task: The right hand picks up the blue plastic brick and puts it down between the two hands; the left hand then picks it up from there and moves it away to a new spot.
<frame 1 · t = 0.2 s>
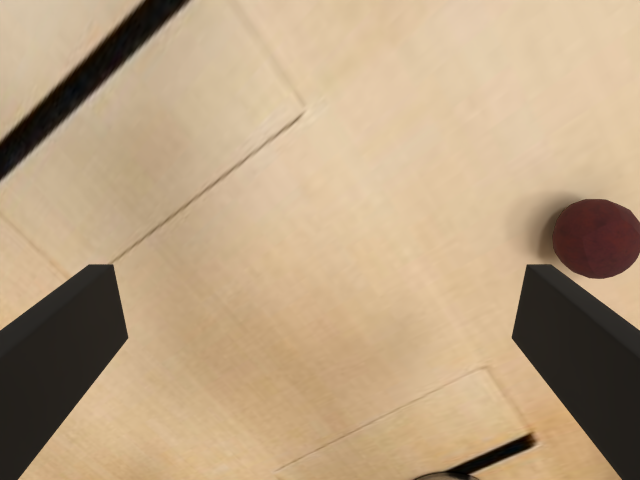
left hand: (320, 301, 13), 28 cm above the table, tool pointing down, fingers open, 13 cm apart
dark red ball: (572, 225, 41), on the table
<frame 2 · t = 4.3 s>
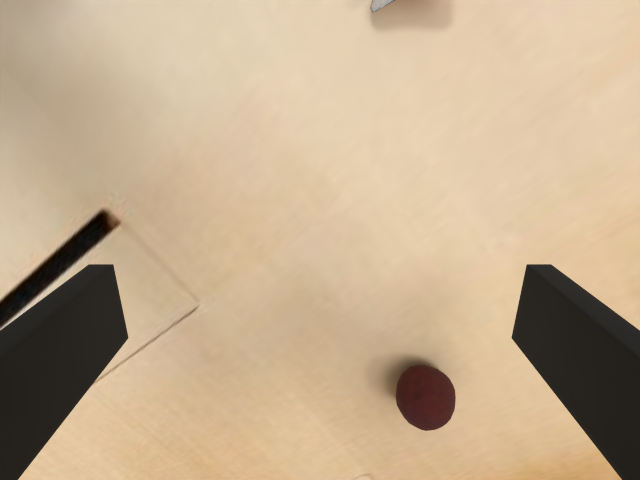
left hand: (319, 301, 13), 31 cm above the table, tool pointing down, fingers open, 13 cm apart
dark red ball: (418, 376, 52), on the table
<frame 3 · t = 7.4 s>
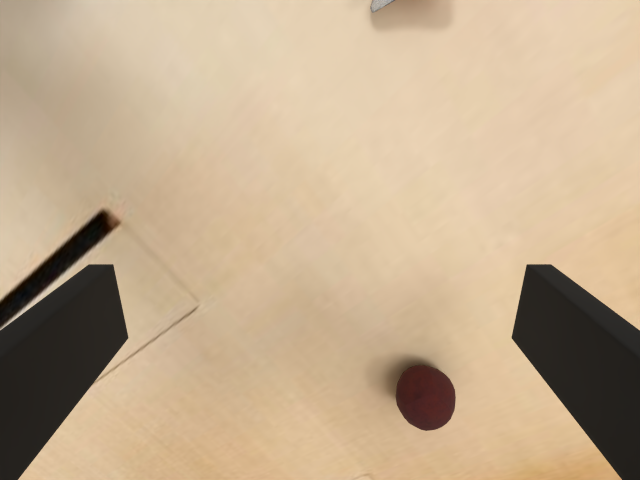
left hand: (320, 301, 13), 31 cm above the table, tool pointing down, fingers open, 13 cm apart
dark red ball: (418, 376, 52), on the table
when the right hand's fingers open (2 cm above the table, at t = 10.8 s): brick drops 1 cm, on the table.
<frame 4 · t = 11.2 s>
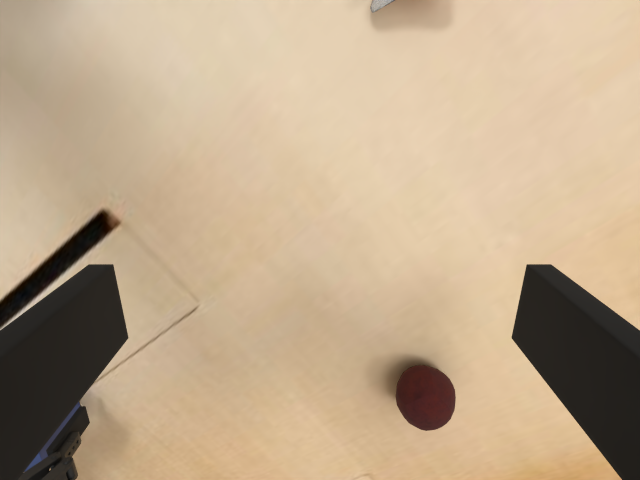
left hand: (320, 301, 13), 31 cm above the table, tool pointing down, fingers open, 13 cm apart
dark red ball: (418, 376, 52), on the table
brick: (58, 395, 54), on the table
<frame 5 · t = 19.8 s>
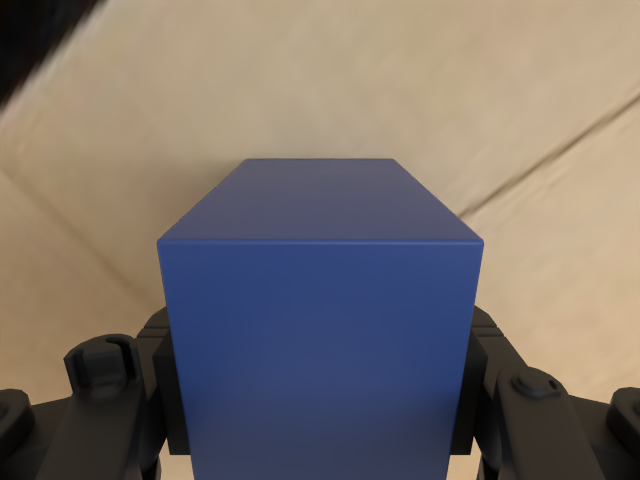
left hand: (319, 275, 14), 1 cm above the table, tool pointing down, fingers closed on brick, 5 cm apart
brick: (320, 266, 15), on the table, touching left hand
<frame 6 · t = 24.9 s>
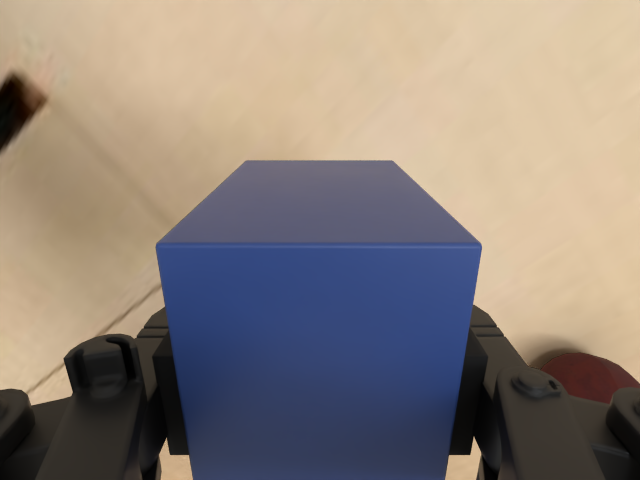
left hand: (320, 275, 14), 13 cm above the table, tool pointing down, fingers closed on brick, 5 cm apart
dark red ball: (559, 371, 32), on the table
brick: (319, 267, 15), point 12 cm above the table, touching left hand
when the left hand's fingers open (2 cm above the table, at t = 30.1 s): brick drops 1 cm, on the table.
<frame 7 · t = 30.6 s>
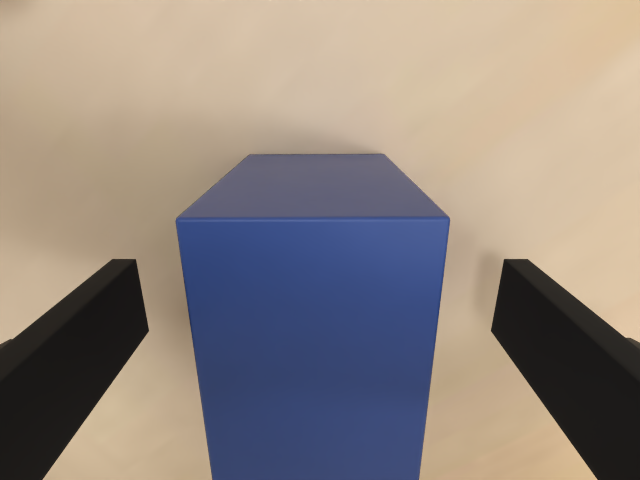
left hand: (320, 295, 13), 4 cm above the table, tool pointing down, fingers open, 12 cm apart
brick: (317, 254, 17), on the table
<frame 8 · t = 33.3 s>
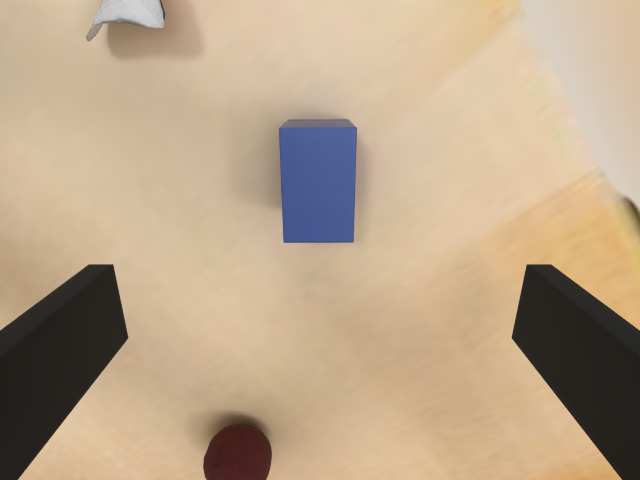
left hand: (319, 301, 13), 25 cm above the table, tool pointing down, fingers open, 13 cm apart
dark red ball: (244, 433, 47), on the table
brick: (318, 167, 36), on the table
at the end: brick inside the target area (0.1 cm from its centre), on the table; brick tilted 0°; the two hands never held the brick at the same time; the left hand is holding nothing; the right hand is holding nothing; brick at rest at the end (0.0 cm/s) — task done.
